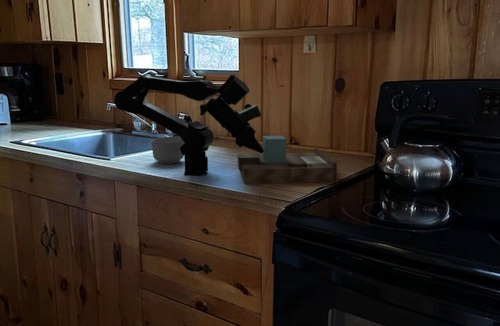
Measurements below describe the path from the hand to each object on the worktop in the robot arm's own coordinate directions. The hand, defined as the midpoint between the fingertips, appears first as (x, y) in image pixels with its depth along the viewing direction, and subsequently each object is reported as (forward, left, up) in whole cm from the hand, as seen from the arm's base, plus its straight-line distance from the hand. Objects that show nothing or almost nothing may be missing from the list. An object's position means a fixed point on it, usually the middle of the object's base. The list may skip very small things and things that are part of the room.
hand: (262, 151), depth 138 cm
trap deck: (+6, 0, -7) cm, 9 cm away
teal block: (+3, 0, -3) cm, 4 cm away
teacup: (-29, +21, -7) cm, 37 cm away
